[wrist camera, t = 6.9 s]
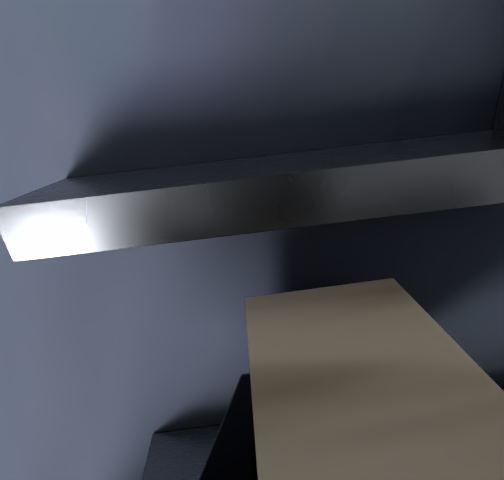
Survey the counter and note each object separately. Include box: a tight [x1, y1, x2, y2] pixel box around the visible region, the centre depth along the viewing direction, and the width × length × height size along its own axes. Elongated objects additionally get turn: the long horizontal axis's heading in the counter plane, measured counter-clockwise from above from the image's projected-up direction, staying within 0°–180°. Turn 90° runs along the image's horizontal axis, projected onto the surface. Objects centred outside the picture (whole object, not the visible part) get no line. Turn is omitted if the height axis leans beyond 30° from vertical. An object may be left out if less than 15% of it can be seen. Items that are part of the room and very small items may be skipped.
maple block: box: [245, 278, 504, 480], centre depth 7 cm, size 4×4×6 cm
